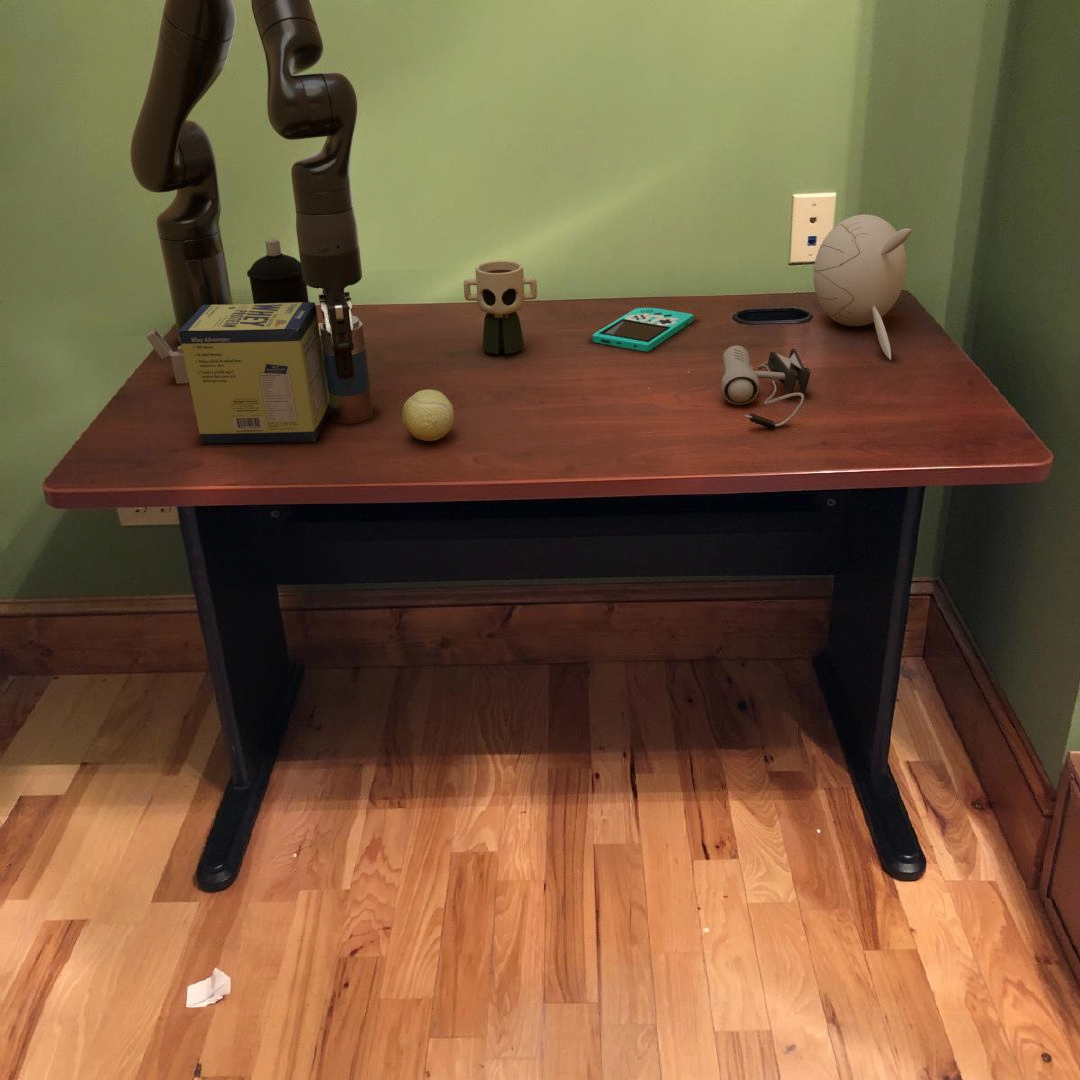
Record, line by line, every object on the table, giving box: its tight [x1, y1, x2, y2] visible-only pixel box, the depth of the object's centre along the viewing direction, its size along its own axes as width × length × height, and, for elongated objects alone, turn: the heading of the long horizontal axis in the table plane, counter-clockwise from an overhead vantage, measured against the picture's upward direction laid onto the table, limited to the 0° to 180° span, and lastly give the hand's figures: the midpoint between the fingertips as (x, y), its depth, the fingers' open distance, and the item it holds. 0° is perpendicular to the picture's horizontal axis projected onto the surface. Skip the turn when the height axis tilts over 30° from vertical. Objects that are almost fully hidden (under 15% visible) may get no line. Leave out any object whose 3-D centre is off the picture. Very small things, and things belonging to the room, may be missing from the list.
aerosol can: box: [246, 238, 310, 304], centre depth 164 cm, size 8×8×20 cm
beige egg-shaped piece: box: [813, 214, 913, 361], centre depth 173 cm, size 19×14×25 cm
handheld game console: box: [592, 307, 694, 353], centre depth 180 cm, size 10×16×1 cm, turn 148°
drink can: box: [319, 315, 374, 425], centre depth 152 cm, size 6×6×13 cm
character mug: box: [463, 259, 538, 355], centre depth 172 cm, size 11×7×13 cm, turn 87°
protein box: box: [177, 301, 331, 445], centre depth 149 cm, size 10×16×16 cm
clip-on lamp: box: [720, 345, 811, 430], centre depth 152 cm, size 12×6×18 cm
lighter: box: [145, 328, 189, 385], centre depth 166 cm, size 7×2×8 cm, turn 94°
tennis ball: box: [401, 389, 455, 442], centre depth 146 cm, size 6×7×7 cm
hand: (342, 366), depth 151 cm, fingers open, 8 cm apart
